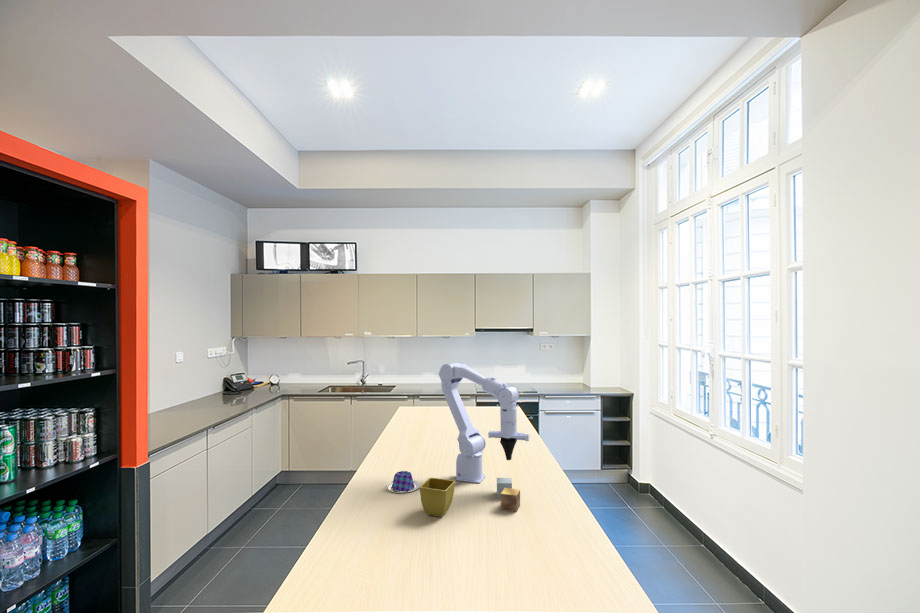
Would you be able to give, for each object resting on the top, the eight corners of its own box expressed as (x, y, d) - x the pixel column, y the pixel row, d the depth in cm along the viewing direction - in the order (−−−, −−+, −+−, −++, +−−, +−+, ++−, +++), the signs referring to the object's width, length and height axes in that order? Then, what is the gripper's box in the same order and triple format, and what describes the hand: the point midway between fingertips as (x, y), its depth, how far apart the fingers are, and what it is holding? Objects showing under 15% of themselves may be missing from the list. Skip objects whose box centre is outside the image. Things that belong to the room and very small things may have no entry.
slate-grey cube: (496, 498, 149) (496, 483, 149) (496, 492, 154) (496, 477, 154) (512, 498, 148) (511, 483, 148) (511, 492, 153) (511, 478, 153)
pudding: (426, 484, 162) (425, 470, 162) (408, 497, 151) (408, 481, 151) (398, 480, 167) (398, 465, 167) (379, 491, 156) (379, 476, 156)
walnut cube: (516, 495, 138) (516, 512, 138) (519, 489, 143) (520, 505, 143) (500, 493, 140) (501, 510, 140) (504, 487, 144) (504, 503, 144)
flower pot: (455, 509, 140) (455, 480, 141) (446, 521, 132) (445, 490, 132) (430, 505, 143) (430, 477, 144) (419, 517, 135) (418, 487, 135)
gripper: (485, 421, 157) (486, 460, 157) (526, 425, 152) (526, 465, 152) (491, 417, 163) (491, 454, 163) (530, 420, 158) (530, 458, 158)
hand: (508, 459), depth 158 cm, fingers closed
